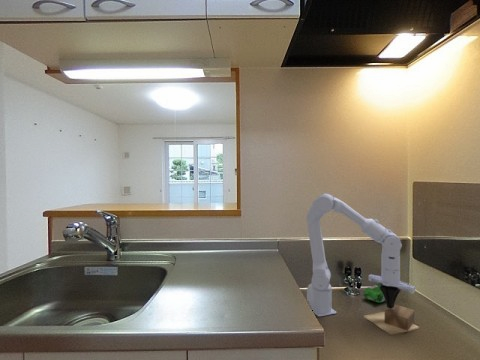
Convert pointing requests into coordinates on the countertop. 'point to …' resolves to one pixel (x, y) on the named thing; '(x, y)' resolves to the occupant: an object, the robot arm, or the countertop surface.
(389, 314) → the slab
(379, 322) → the plate
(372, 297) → the snack package
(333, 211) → the robot arm
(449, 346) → the countertop surface
